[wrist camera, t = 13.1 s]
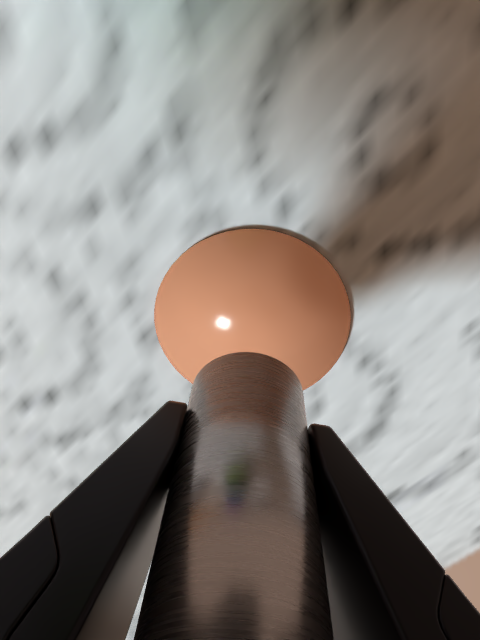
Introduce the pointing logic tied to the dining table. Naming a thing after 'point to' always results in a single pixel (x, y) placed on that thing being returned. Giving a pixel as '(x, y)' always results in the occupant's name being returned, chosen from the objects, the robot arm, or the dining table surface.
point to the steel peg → (240, 515)
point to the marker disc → (253, 304)
